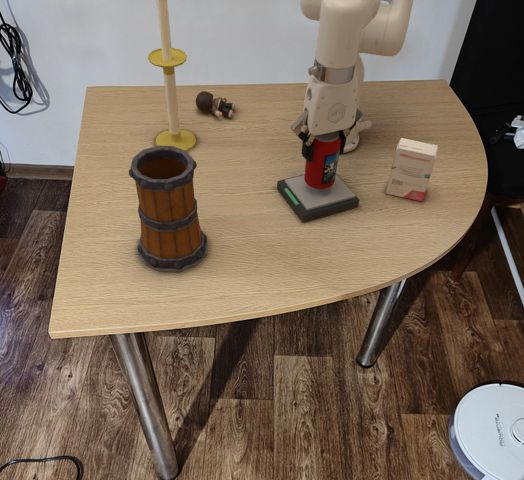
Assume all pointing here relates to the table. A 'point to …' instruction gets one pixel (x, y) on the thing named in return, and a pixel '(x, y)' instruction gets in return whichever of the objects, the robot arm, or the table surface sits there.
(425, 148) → the ink box
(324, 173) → the beverage can
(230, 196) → the table surface
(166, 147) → the mug
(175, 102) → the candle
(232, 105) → the figurine
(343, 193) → the scale
